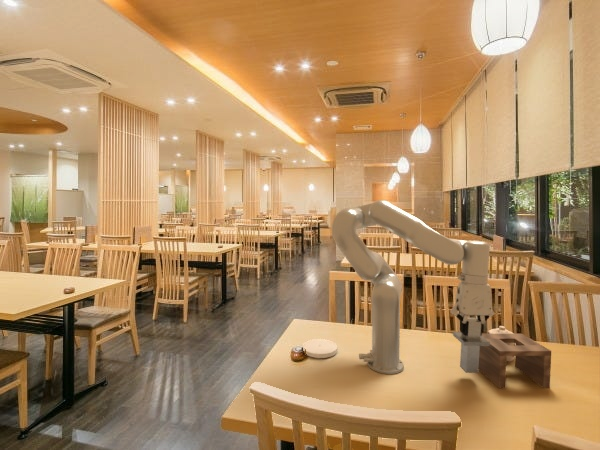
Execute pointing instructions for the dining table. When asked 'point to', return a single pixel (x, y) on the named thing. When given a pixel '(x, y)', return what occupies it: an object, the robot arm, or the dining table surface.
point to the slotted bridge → (527, 358)
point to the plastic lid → (320, 348)
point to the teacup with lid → (503, 331)
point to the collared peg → (471, 345)
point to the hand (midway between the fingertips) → (471, 333)
